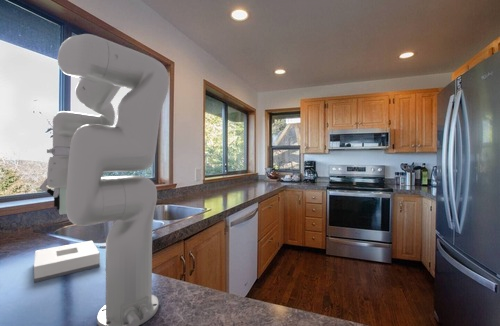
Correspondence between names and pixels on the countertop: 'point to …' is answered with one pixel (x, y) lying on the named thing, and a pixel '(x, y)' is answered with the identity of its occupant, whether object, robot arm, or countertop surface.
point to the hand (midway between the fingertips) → (67, 207)
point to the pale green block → (62, 201)
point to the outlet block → (65, 260)
